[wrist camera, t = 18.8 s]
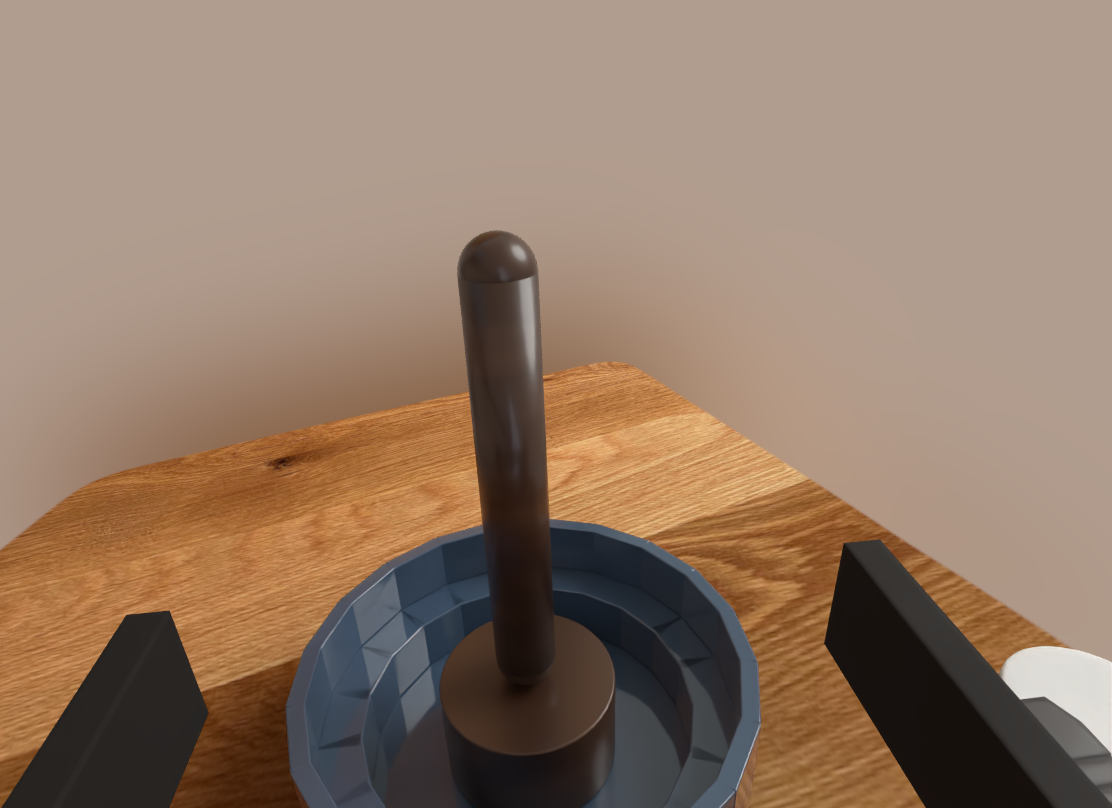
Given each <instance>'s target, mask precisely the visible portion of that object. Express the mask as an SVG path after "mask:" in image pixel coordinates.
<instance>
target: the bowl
mask: <svg viewBox="0 0 1112 808" xmlns="http://www.w3.org/2000/svg"><path fill="white" fill-rule="evenodd" d="M550 541H551V562H552V584H553V606H554V615H558V616H561V617H564V618H568V619H570V620H572V621H575V622H577V623H579V624H580V625H582V626H584V627H585V628H587V629H588V630H589V631H591V632H592V633H593V634H594V635H595V636H596V637H597V638H598V639H599V640H600V641H601V642H602V644H603V645H604V646H605V648H606V650H607V651H608V653H609V655H610V657H611V660H612V662H613V666H614V670H615V681H616V683H615V752H614V759H613V764H612V767H611V770H610V772H609V775H608V777H607V779H606V781H605V783H604V784H603V786H602V787H601V789H600V790H599V791H598V793H597V794H596V795H595V796H594V797H593V798H592V799H591V800H590V801H589V802H588V803H587V804H586V805H584V806H583V807H582V808H749V802H750V795H751V789H752V782H753V776H754V769H755V762H756V756H757V749H758V742H759V736H760V729H761V710H760V691H759V671H758V663H757V659H756V657H755V655H754V653H753V650H752V648H751V646H750V644H749V642H748V639H747V637H746V635H745V633H744V631H743V629H742V626H741V624H740V622H739V620H738V618H737V615H736V613H735V611H734V610H733V608H732V607H731V606H730V605H729V604H728V603H727V602H726V600H725V599H724V598H723V597H722V596H721V595H720V594H719V593H718V592H717V591H716V590H715V589H714V588H713V587H712V586H711V585H710V583H709V582H708V581H707V580H706V579H705V578H704V577H703V576H702V575H701V574H700V573H699V572H698V571H697V570H695V568H693V567H692V566H690V565H688V564H687V563H685V562H683V561H682V560H680V559H678V558H677V557H675V556H673V555H672V554H670V553H669V552H667V551H665V550H664V549H662V548H660V547H659V546H657V545H655V544H654V543H652V542H649V541H648V540H645V539H642V538H639V537H636V536H633V535H630V534H627V533H624V532H621V531H617V530H614V529H611V528H608V527H605V526H602V525H598V524H592V523H582V522H573V521H564V520H555V519H550ZM490 621H492V613H491V603H490V593H489V583H488V573H487V563H486V553H485V543H484V534H483V525H480V526H477V527H473V528H469V529H466V530H462V531H458V532H455V533H451V534H447V535H444V536H440V537H437V538H434V539H432V540H430V541H428V542H426V543H424V544H422V545H420V546H418V547H416V548H414V549H412V550H410V551H408V552H406V553H404V554H402V555H400V556H398V557H396V558H394V559H392V560H390V561H388V562H386V564H383V565H382V566H381V567H379V568H378V569H377V570H376V571H375V572H373V573H372V574H371V575H370V576H368V577H367V578H366V579H365V580H364V581H362V582H361V583H360V584H359V585H357V586H356V587H355V588H354V589H352V590H351V591H350V592H349V593H348V594H346V595H345V596H344V597H343V598H341V600H340V601H339V602H338V603H337V604H336V606H335V607H334V608H333V610H332V611H331V613H330V614H329V615H328V617H327V618H326V619H325V621H324V622H323V624H322V625H321V626H320V628H319V629H318V630H317V632H316V633H315V635H314V636H313V637H312V639H311V640H310V641H309V643H308V644H307V646H306V647H305V649H304V651H303V654H302V657H301V660H300V663H299V666H298V669H297V672H296V675H295V679H294V682H293V685H292V688H291V691H290V694H289V697H288V700H287V703H286V710H285V713H286V727H287V741H288V755H289V769H290V774H291V778H292V781H293V784H294V787H295V790H296V793H297V796H298V799H299V803H300V806H301V808H476V807H474V806H473V805H472V804H471V803H470V802H469V801H468V800H467V799H466V798H465V796H464V795H463V794H462V793H461V791H460V789H459V788H458V786H457V784H456V782H455V780H454V777H453V774H452V770H451V766H450V760H449V754H448V748H447V741H446V735H445V729H444V722H443V716H442V710H441V703H440V695H439V685H440V678H441V674H442V671H443V668H444V665H445V663H446V661H447V659H448V657H449V656H450V654H451V652H452V651H453V650H454V648H455V647H456V646H457V645H458V644H459V643H460V642H461V641H462V640H463V639H464V638H465V637H466V636H467V635H468V634H470V633H471V632H472V631H474V630H475V629H477V628H478V627H480V626H482V625H484V624H486V623H488V622H490Z"/></svg>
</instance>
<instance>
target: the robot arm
mask: <svg viewBox="0 0 1112 808" xmlns="http://www.w3.org/2000/svg"><path fill="white" fill-rule="evenodd" d="M824 644H825V645H826V647H827V649H828V650H829V652H830V654H831V655H832V657H833V658H834V660H835V662H836V663H837V665H838V667H839V668H840V670H841V671H842V673H843V675H844V676H845V678H846V679H847V681H848V683H849V684H850V686H851V688H852V689H853V691H854V692H855V694H856V696H857V697H858V699H859V700H860V702H861V704H862V705H863V707H864V709H865V710H866V712H867V713H868V715H869V717H870V718H871V720H872V722H873V723H874V725H875V726H876V728H877V730H878V731H879V733H880V734H881V736H882V738H883V739H884V741H885V743H886V744H887V746H888V747H889V749H890V751H891V752H892V754H893V755H894V757H895V759H896V760H897V762H898V764H899V765H900V767H901V768H902V770H903V772H904V773H905V775H906V777H907V778H908V780H909V781H910V783H911V785H912V786H913V788H914V789H915V791H916V793H917V794H918V796H919V798H920V799H921V801H922V802H923V804H924V806H925V807H926V808H1112V756H1111V753H1110V751H1109V750H1108V749H1107V748H1106V747H1105V746H1104V745H1103V744H1102V743H1101V742H1100V741H1099V740H1098V739H1097V738H1096V737H1095V736H1094V735H1093V733H1092V732H1091V731H1090V730H1089V729H1088V728H1087V727H1086V726H1085V725H1084V724H1083V723H1082V722H1081V721H1080V720H1078V719H1077V718H1075V717H1074V716H1072V715H1071V714H1069V713H1068V712H1067V711H1065V710H1064V709H1062V708H1061V707H1059V706H1058V705H1056V704H1055V703H1053V702H1052V701H1051V700H1049V699H1048V698H1046V697H1045V696H1044V697H1035V698H1027V699H1019V698H1018V696H1017V695H1016V694H1015V693H1014V692H1013V691H1012V690H1011V688H1010V687H1009V686H1008V685H1007V684H1006V683H1005V682H1004V680H1003V679H1002V678H1001V677H1000V676H999V675H998V674H997V673H996V671H995V670H994V669H993V668H992V667H991V666H990V665H989V663H988V662H987V661H986V660H985V659H984V658H983V657H982V655H981V654H980V653H979V652H978V651H977V650H976V649H975V647H974V646H973V645H972V644H971V643H970V642H969V641H968V639H967V638H966V637H965V636H964V635H963V634H962V633H961V631H960V630H959V629H958V628H957V627H956V626H955V625H954V624H953V622H952V621H951V620H950V619H949V618H948V617H947V616H946V614H945V613H944V612H943V611H942V610H941V609H940V608H939V606H938V605H937V604H936V603H935V602H934V601H933V600H932V598H931V597H930V596H929V595H928V594H927V593H926V592H925V590H924V589H923V588H922V587H921V586H920V585H919V584H918V582H917V581H916V580H915V579H914V578H913V577H912V576H911V575H910V573H909V572H908V571H907V570H906V569H905V568H904V567H903V565H902V564H901V563H900V562H899V561H898V560H897V559H896V557H895V556H894V555H893V554H892V553H891V552H890V551H889V549H888V548H887V547H886V546H885V545H884V544H883V543H882V541H881V540H871V541H861V542H851V543H844V545H843V550H842V555H841V560H840V566H839V571H838V576H837V581H836V586H835V591H834V596H833V601H832V607H831V612H830V617H829V622H828V627H827V632H826V637H825V642H824ZM207 716H208V710H207V708H206V705H205V702H204V700H203V697H202V694H201V692H200V689H199V687H198V684H197V681H196V679H195V676H194V674H193V671H192V668H191V666H190V663H189V660H188V658H187V655H186V653H185V650H184V647H183V645H182V642H181V640H180V637H179V634H178V632H177V629H176V626H175V624H174V621H173V619H172V616H171V613H170V611H161V612H151V613H141V614H132V615H126V616H125V618H124V620H123V621H122V623H121V624H120V626H119V627H118V629H117V630H116V632H115V633H114V635H113V637H112V638H111V640H110V641H109V643H108V644H107V646H106V647H105V649H104V650H103V652H102V654H101V655H100V657H99V658H98V660H97V661H96V663H95V664H94V666H93V667H92V669H91V671H90V672H89V674H88V675H87V677H86V678H85V680H84V681H83V683H82V684H81V686H80V687H79V689H78V691H77V692H76V694H75V695H74V697H73V698H72V700H71V701H70V703H69V704H68V706H67V708H66V709H65V711H64V712H63V714H62V715H61V717H60V718H59V720H58V721H57V723H56V725H55V726H54V728H53V729H52V731H51V732H50V734H49V735H48V737H47V738H46V740H45V742H44V743H43V745H42V746H41V748H40V749H39V751H38V752H37V754H36V755H35V757H34V758H33V760H32V762H31V763H30V765H29V766H28V768H27V769H26V771H25V772H24V774H23V775H22V777H21V779H20V780H19V782H18V783H17V785H16V786H15V788H14V789H13V791H12V792H11V794H10V796H9V797H8V799H7V800H6V802H5V803H4V805H3V806H2V808H169V806H170V804H171V801H172V799H173V797H174V794H175V792H176V790H177V787H178V785H179V782H180V780H181V778H182V775H183V773H184V770H185V768H186V766H187V763H188V761H189V758H190V756H191V754H192V751H193V749H194V747H195V744H196V742H197V739H198V737H199V735H200V732H201V730H202V727H203V725H204V723H205V720H206V718H207Z"/></svg>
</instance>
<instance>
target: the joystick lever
mask: <svg viewBox="0 0 1112 808" xmlns="http://www.w3.org/2000/svg"><path fill="white" fill-rule="evenodd" d="M457 268H458V269H457V271H458V272H457V273H458V274H457V276H458V286H459V296H460V305H461V315H462V325H463V335H464V345H465V355H466V365H467V375H468V385H469V395H470V405H471V415H472V425H473V434H474V444H475V454H476V464H477V474H478V484H479V494H480V504H481V514H482V524H483V534H484V543H485V553H486V563H487V573H488V583H489V593H490V603H491V613H492V621H490V622H488V623H486V624H484V625H482V626H480V627H478V628H477V629H475V630H474V631H472V632H471V633H470V634H468V635H467V636H466V637H465V638H464V639H463V640H462V641H461V642H460V643H459V644H458V645H457V646H456V647H455V648H454V650H453V651H452V652H451V654H450V656H449V657H448V659H447V661H446V663H445V665H444V668H443V671H442V674H441V678H440V685H439V695H440V703H441V710H442V716H443V722H444V729H445V735H446V741H447V748H448V754H449V760H450V766H451V770H452V774H453V777H454V780H455V782H456V784H457V786H458V788H459V789H460V791H461V793H462V794H463V795H464V796H465V798H466V799H467V800H468V801H469V802H470V803H471V804H472V805H473V806H474V807H476V808H582V807H583V806H584V805H586V804H587V803H588V802H589V801H590V800H591V799H592V798H593V797H594V796H595V795H596V794H597V793H598V791H599V790H600V789H601V787H602V786H603V784H604V783H605V781H606V779H607V777H608V775H609V772H610V770H611V767H612V764H613V759H614V752H615V683H616V681H615V670H614V666H613V662H612V660H611V657H610V655H609V653H608V651H607V650H606V648H605V646H604V645H603V644H602V642H601V641H600V640H599V639H598V638H597V637H596V636H595V635H594V634H593V633H592V632H591V631H589V630H588V629H587V628H585V627H584V626H582V625H580V624H579V623H577V622H575V621H572V620H570V619H568V618H564V617H561V616H558V615H554V606H553V584H552V562H551V541H550V519H549V497H548V476H547V454H546V433H545V411H544V389H543V370H542V369H543V368H542V347H541V325H540V303H539V283H538V282H539V281H538V268H537V261H536V259H535V256H534V254H533V252H532V250H531V248H530V247H529V246H528V245H527V244H526V243H525V242H524V241H523V240H522V239H521V238H519V237H518V236H516V235H514V234H511V233H509V232H504V231H489V232H485V233H482V234H480V235H478V236H476V237H475V238H473V239H472V240H471V241H470V242H469V243H468V244H467V245H466V246H465V248H464V249H463V251H462V253H461V256H460V258H459V262H458V267H457Z"/></svg>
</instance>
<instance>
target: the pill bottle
mask: <svg viewBox="0 0 1112 808" xmlns="http://www.w3.org/2000/svg"><path fill="white" fill-rule="evenodd" d="M999 676H1000V677H1001V678H1002V679H1003V680H1004V682H1005V683H1006V684H1007V685H1008V686H1009V687H1010V688H1011V690H1012V691H1013V692H1014V693H1015V694H1016V695H1017V696H1018V698H1019V699H1027V698H1035V697H1044V696H1045V697H1046V698H1048V699H1049V700H1051V701H1052V702H1053V703H1055V704H1056V705H1058V706H1059V707H1061V708H1062V709H1064V710H1065V711H1067V712H1068V713H1069V714H1071V715H1072V716H1074V717H1075V718H1077V719H1078V720H1080V721H1081V722H1082V723H1083V724H1084V725H1085V726H1086V727H1087V728H1088V729H1089V730H1090V731H1091V732H1092V733H1093V735H1094V736H1095V737H1096V738H1097V739H1098V740H1099V741H1100V742H1101V743H1102V744H1103V745H1104V746H1105V747H1106V748H1107V749H1108V750H1109V751H1110V753H1111V756H1112V662H1110V661H1108V660H1105V659H1103V658H1100V657H1097V656H1094V655H1092V654H1089V653H1085V652H1082V651H1078V650H1073V649H1068V648H1061V647H1051V646H1041V647H1033V648H1027V649H1024V650H1021V651H1018V652H1016V653H1015V654H1013V655H1012V656H1011V657H1009V658H1008V659H1007V660H1006V661H1005V663H1004V664H1003V666H1002V668H1001V670H1000V673H999Z"/></svg>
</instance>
